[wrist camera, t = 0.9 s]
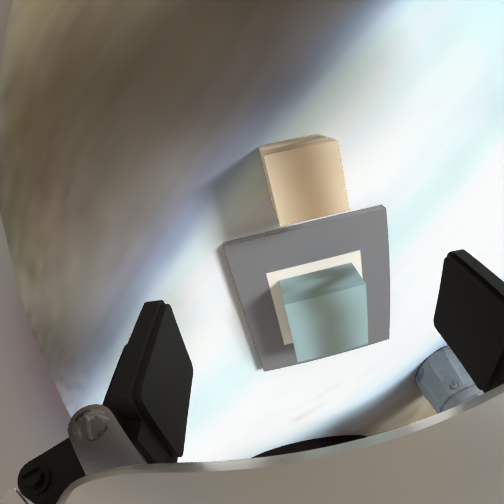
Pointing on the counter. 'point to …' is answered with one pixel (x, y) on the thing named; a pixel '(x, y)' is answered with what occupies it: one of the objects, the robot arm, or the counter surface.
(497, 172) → the counter surface
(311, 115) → the counter surface
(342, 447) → the robot arm
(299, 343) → the teal base block
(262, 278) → the build board
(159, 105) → the counter surface
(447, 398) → the moka pot
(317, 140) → the maple block
